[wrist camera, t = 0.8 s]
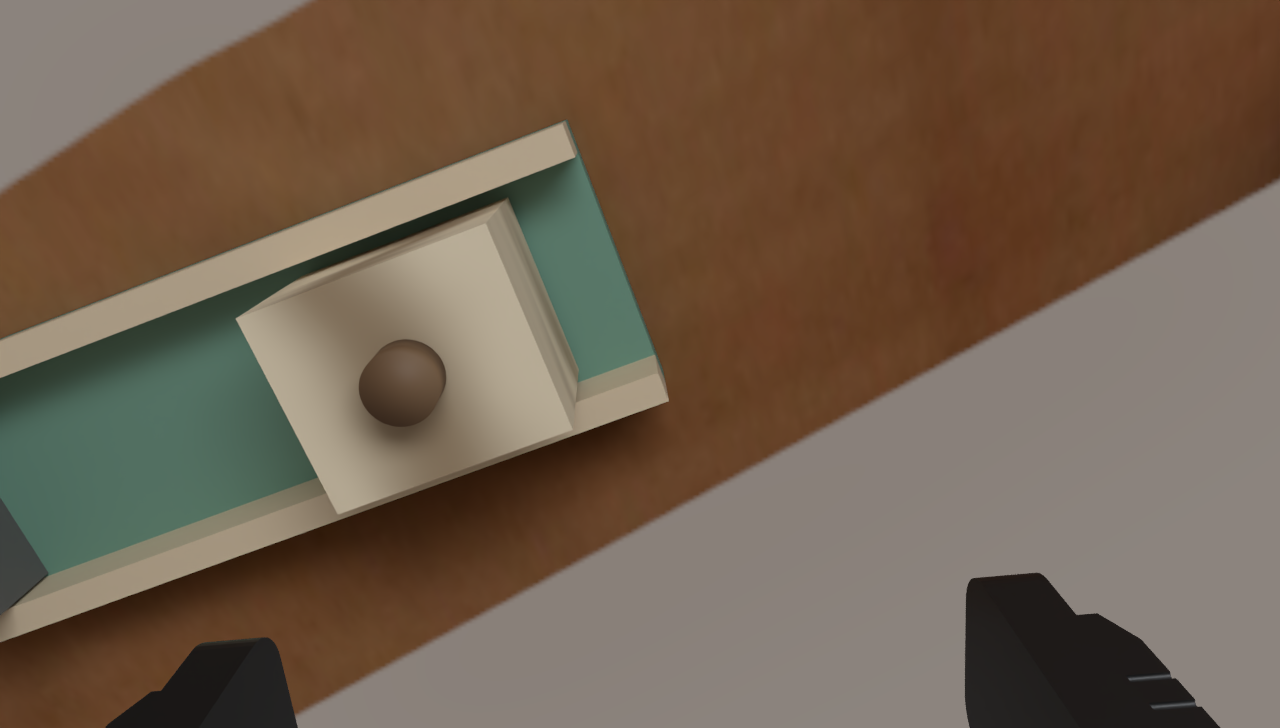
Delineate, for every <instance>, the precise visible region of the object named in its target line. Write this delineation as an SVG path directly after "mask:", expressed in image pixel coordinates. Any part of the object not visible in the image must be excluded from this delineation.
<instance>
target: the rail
mask: <svg viewBox="0 0 1280 728" xmlns="http://www.w3.org/2000/svg"><path fill="white" fill-rule="evenodd" d="M507 197H508V198H509V201H510V203H511V206H512V208H513V211H514V213H515V215H516V218H517V220H518V223H519V225H520V228H521V230H522V233H523V235H524V237H525V240H526V242H527V245H528V247H529V250H530V252H531V254H532V257H533V259H534V262H535V264H536V267H537V269H538V271H539V274H540V276H541V279H542V281H543V284H544V286H545V288H546V291H547V293H548V296H549V298H550V301H551V303H552V306H553V308H554V310H555V313H556V315H557V318H558V320H559V323H560V325H561V327H562V330H563V332H564V335H565V337H566V340H567V342H568V344H569V347H570V349H571V352H572V354H573V357H574V359H575V361H576V364H577V366H578V369H579V373H578V383H577V393H576V403H575V413H574V423H573V430H571V431H568V432H565V433H563V434H560V435H557V436H554V437H551V438H549V439H546V440H543V441H540V442H538V443H535V444H532V445H529V446H527V447H524V448H521V449H518V450H515V451H513V452H510V453H507V454H504V455H502V456H499V457H496V458H493V459H491V460H488V461H485V462H482V463H480V464H477V465H474V466H471V467H468V468H466V469H463V470H460V471H457V472H455V473H452V474H449V475H446V476H444V477H441V478H438V479H435V480H432V481H430V482H427V483H424V484H421V485H419V486H416V487H413V488H410V489H408V490H405V491H402V492H399V493H396V494H394V495H391V496H388V497H385V498H383V499H380V500H377V501H374V502H372V503H369V504H366V505H363V506H360V507H358V508H355V509H352V510H349V511H347V512H344V513H341V514H337V512H336V510H335V508H334V507H333V505H332V503H331V501H330V499H329V497H328V495H327V493H326V491H325V489H324V487H323V485H322V483H321V482H320V480H319V478H318V476H317V474H316V472H315V470H314V468H313V466H312V464H311V462H310V460H309V459H308V457H307V455H306V453H305V451H304V449H303V447H302V445H301V443H300V441H299V439H298V437H297V435H296V434H295V432H294V430H293V428H292V426H291V424H290V422H289V420H288V418H287V416H286V414H285V412H284V411H283V409H282V407H281V405H280V403H279V401H278V399H277V397H276V395H275V393H274V391H273V389H272V387H271V386H270V384H269V382H268V380H267V378H266V376H265V374H264V372H263V370H262V368H261V366H260V364H259V363H258V361H257V359H256V357H255V355H254V353H253V351H252V349H251V347H250V345H249V343H248V341H247V339H246V338H245V336H244V334H243V332H242V330H241V328H240V326H239V324H238V322H237V320H236V318H237V317H239V316H240V315H242V314H244V313H245V312H247V311H248V310H250V309H251V308H253V307H254V306H256V305H258V304H259V303H261V302H262V301H264V300H265V299H267V298H269V297H270V296H272V295H273V294H275V293H276V292H278V291H279V290H281V289H283V288H284V287H286V286H287V285H289V284H290V283H292V282H294V281H295V280H297V279H298V278H300V277H301V276H303V275H306V274H309V273H311V272H314V271H316V270H319V269H322V268H324V267H327V266H329V265H332V264H335V263H337V262H340V261H342V260H345V259H348V258H350V257H353V256H356V255H358V254H361V253H363V252H366V251H369V250H371V249H374V248H376V247H379V246H382V245H384V244H387V243H390V242H392V241H395V240H397V239H400V238H403V237H405V236H408V235H410V234H413V233H416V232H418V231H421V230H424V229H426V228H429V227H431V226H434V225H437V224H439V223H442V222H444V221H447V220H450V219H452V218H455V217H457V216H460V215H463V214H465V213H468V212H471V211H473V210H476V209H478V208H481V207H484V206H486V205H489V204H491V203H494V202H497V201H499V200H502V199H505V198H507ZM668 401H669V399H668V394H667V388H666V383H665V378H664V373H663V369H662V366H661V364H660V361H659V359H658V356H657V353H656V351H655V348H654V346H653V343H652V340H651V338H650V335H649V332H648V330H647V327H646V325H645V322H644V319H643V317H642V314H641V312H640V309H639V306H638V304H637V301H636V298H635V296H634V293H633V291H632V288H631V285H630V283H629V280H628V277H627V275H626V272H625V270H624V267H623V264H622V262H621V259H620V257H619V254H618V251H617V249H616V246H615V243H614V241H613V238H612V236H611V233H610V230H609V228H608V225H607V222H606V220H605V217H604V215H603V212H602V209H601V207H600V204H599V202H598V199H597V196H596V194H595V191H594V188H593V186H592V183H591V181H590V178H589V175H588V173H587V170H586V168H585V165H584V162H583V160H582V157H581V154H580V152H579V149H578V147H577V144H576V141H575V139H574V136H573V133H572V131H571V128H570V126H569V123H568V120H564V121H562V122H559V123H557V124H554V125H551V126H549V127H546V128H544V129H541V130H538V131H536V132H533V133H531V134H528V135H526V136H523V137H520V138H518V139H515V140H513V141H510V142H507V143H505V144H502V145H500V146H497V147H495V148H492V149H489V150H487V151H484V152H482V153H479V154H476V155H474V156H471V157H469V158H466V159H464V160H461V161H458V162H456V163H453V164H451V165H448V166H445V167H443V168H440V169H438V170H435V171H433V172H430V173H427V174H425V175H422V176H420V177H417V178H414V179H412V180H409V181H407V182H404V183H402V184H399V185H396V186H394V187H391V188H389V189H386V190H383V191H381V192H378V193H376V194H373V195H371V196H368V197H365V198H363V199H360V200H358V201H355V202H353V203H350V204H347V205H345V206H342V207H340V208H337V209H334V210H332V211H329V212H327V213H324V214H322V215H319V216H316V217H314V218H311V219H309V220H306V221H303V222H301V223H298V224H296V225H293V226H291V227H288V228H285V229H283V230H280V231H278V232H275V233H272V234H270V235H267V236H265V237H262V238H260V239H257V240H254V241H252V242H249V243H247V244H244V245H241V246H239V247H236V248H234V249H231V250H229V251H226V252H223V253H221V254H218V255H216V256H213V257H210V258H208V259H205V260H203V261H200V262H198V263H195V264H192V265H190V266H187V267H185V268H182V269H179V270H177V271H174V272H172V273H169V274H167V275H164V276H161V277H159V278H156V279H154V280H151V281H148V282H146V283H143V284H141V285H138V286H136V287H133V288H130V289H128V290H125V291H123V292H120V293H117V294H115V295H112V296H110V297H107V298H105V299H102V300H99V301H97V302H94V303H92V304H89V305H86V306H84V307H81V308H79V309H76V310H74V311H71V312H68V313H66V314H63V315H61V316H58V317H55V318H53V319H50V320H48V321H45V322H43V323H40V324H37V325H35V326H32V327H30V328H27V329H24V330H22V331H19V332H17V333H14V334H12V335H9V336H6V337H4V338H1V339H0V642H2V641H5V640H8V639H11V638H13V637H16V636H19V635H22V634H25V633H27V632H30V631H33V630H36V629H38V628H41V627H44V626H47V625H50V624H52V623H55V622H58V621H61V620H63V619H66V618H69V617H72V616H74V615H77V614H80V613H83V612H86V611H88V610H91V609H94V608H97V607H99V606H102V605H105V604H108V603H110V602H113V601H116V600H119V599H122V598H124V597H127V596H130V595H133V594H135V593H138V592H141V591H144V590H147V589H149V588H152V587H155V586H158V585H160V584H163V583H166V582H169V581H171V580H174V579H177V578H180V577H183V576H185V575H188V574H191V573H194V572H196V571H199V570H202V569H205V568H208V567H210V566H213V565H216V564H219V563H221V562H224V561H227V560H230V559H232V558H235V557H238V556H241V555H244V554H246V553H249V552H252V551H255V550H257V549H260V548H263V547H266V546H268V545H271V544H274V543H277V542H280V541H282V540H285V539H288V538H291V537H293V536H296V535H299V534H302V533H305V532H307V531H310V530H313V529H316V528H318V527H321V526H324V525H327V524H329V523H332V522H335V521H338V520H341V519H343V518H346V517H349V516H352V515H354V514H357V513H360V512H363V511H366V510H368V509H371V508H374V507H377V506H379V505H382V504H385V503H388V502H390V501H393V500H396V499H399V498H402V497H404V496H407V495H410V494H413V493H415V492H418V491H421V490H424V489H426V488H429V487H432V486H435V485H438V484H440V483H443V482H446V481H449V480H451V479H454V478H457V477H460V476H463V475H465V474H468V473H471V472H474V471H476V470H479V469H482V468H485V467H487V466H490V465H493V464H496V463H499V462H501V461H504V460H507V459H510V458H512V457H515V456H518V455H521V454H524V453H526V452H529V451H532V450H535V449H537V448H540V447H543V446H546V445H548V444H551V443H554V442H557V441H560V440H562V439H565V438H568V437H571V436H573V435H576V434H579V433H582V432H584V431H587V430H590V429H593V428H596V427H598V426H601V425H604V424H607V423H609V422H612V421H615V420H618V419H621V418H623V417H626V416H629V415H632V414H634V413H637V412H640V411H643V410H645V409H648V408H651V407H654V406H657V405H659V404H662V403H665V402H668Z"/></svg>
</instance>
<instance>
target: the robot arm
mask: <svg viewBox="0 0 1280 728" xmlns="http://www.w3.org/2000/svg"><path fill="white" fill-rule="evenodd" d="M965 644H966V645H965V646H966V647H965V702H966V711H967V717H968V722H969V726H970V728H1220V727H1219V726H1218V725H1217V724H1216V722H1215V721H1214V720H1213V719H1212V718H1211V717H1210V716H1209V715H1208V714H1207V713H1206V711H1205V710H1204V709H1203V708H1202V707H1197V706H1196V704H1195V699H1194V698H1193V697H1192V696H1191V695H1190V694H1189V692H1188V691H1187V690H1186V689H1185V688H1184V687H1183V686H1182V685H1181V683H1180V682H1179V681H1178V680H1177V679H1172V678H1171V675H1170V671H1169V670H1168V669H1167V668H1166V667H1165V666H1164V664H1163V663H1162V662H1161V661H1160V660H1159V659H1158V658H1157V657H1156V656H1155V654H1154V653H1153V652H1152V651H1151V650H1150V649H1149V648H1148V647H1147V646H1146V644H1145V643H1144V642H1143V641H1142V640H1141V639H1140V638H1138V637H1136V636H1135V635H1133V634H1131V633H1129V632H1128V631H1126V630H1124V629H1123V628H1121V627H1119V626H1118V625H1116V624H1114V623H1113V622H1111V621H1109V620H1107V619H1106V618H1104V617H1102V616H1101V615H1099V614H1085V615H1076V614H1075V613H1074V612H1073V610H1072V609H1071V608H1070V607H1069V605H1068V604H1067V603H1066V602H1065V601H1064V599H1063V598H1062V597H1061V596H1060V594H1059V593H1058V592H1057V591H1056V590H1055V588H1054V587H1053V586H1052V585H1051V583H1050V582H1049V581H1048V580H1047V579H1046V578H1045V577H1044V576H1043V575H1042V574H1040V573H1029V574H1017V575H1005V576H995V577H982V578H973V579H971V580H970V582H969V584H968V587H967V593H966V641H965ZM106 728H298V727H297V723H296V719H295V715H294V711H293V707H292V703H291V698H290V694H289V690H288V686H287V682H286V678H285V674H284V670H283V666H282V662H281V658H280V654H279V651H278V649H277V647H276V645H275V643H274V642H273V641H272V640H271V639H269V638H252V639H241V640H229V641H217V642H206V643H201V644H199V645H198V646H196V647H195V648H194V649H193V650H192V651H191V653H190V654H189V655H188V657H187V658H186V659H185V661H184V662H183V663H182V664H181V666H180V667H179V668H178V670H177V671H176V672H175V674H174V675H173V676H172V677H171V679H170V680H169V681H168V683H167V684H166V685H165V687H164V688H163V689H162V690H161V691H154V692H150V693H149V694H148V695H146V696H145V697H144V698H142V699H141V700H140V701H138V702H137V703H136V704H134V705H133V706H132V707H130V708H129V709H128V710H126V711H125V712H124V713H122V714H121V715H120V716H118V717H117V718H116V719H114V720H113V721H112V722H110V723H109V724H108V725H107V726H106Z"/></svg>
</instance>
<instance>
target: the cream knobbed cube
mask: <svg viewBox="0 0 1280 728" xmlns="http://www.w3.org/2000/svg"><path fill="white" fill-rule="evenodd" d="M236 320H237V322H238V324H239V326H240V328H241V330H242V332H243V334H244V336H245V338H246V339H247V341H248V343H249V345H250V347H251V349H252V351H253V353H254V355H255V357H256V359H257V361H258V363H259V364H260V366H261V368H262V370H263V372H264V374H265V376H266V378H267V380H268V382H269V384H270V386H271V387H272V389H273V391H274V393H275V395H276V397H277V399H278V401H279V403H280V405H281V407H282V409H283V411H284V412H285V414H286V416H287V418H288V420H289V422H290V424H291V426H292V428H293V430H294V432H295V434H296V435H297V437H298V439H299V441H300V443H301V445H302V447H303V449H304V451H305V453H306V455H307V457H308V459H309V460H310V462H311V464H312V466H313V468H314V470H315V472H316V474H317V476H318V478H319V480H320V482H321V483H322V485H323V487H324V489H325V491H326V493H327V495H328V497H329V499H330V501H331V503H332V505H333V507H334V508H335V510H336V512H337V514H341V513H344V512H347V511H349V510H352V509H355V508H358V507H360V506H363V505H366V504H369V503H372V502H374V501H377V500H380V499H383V498H385V497H388V496H391V495H394V494H396V493H399V492H402V491H405V490H408V489H410V488H413V487H416V486H419V485H421V484H424V483H427V482H430V481H432V480H435V479H438V478H441V477H444V476H446V475H449V474H452V473H455V472H457V471H460V470H463V469H466V468H468V467H471V466H474V465H477V464H480V463H482V462H485V461H488V460H491V459H493V458H496V457H499V456H502V455H504V454H507V453H510V452H513V451H515V450H518V449H521V448H524V447H527V446H529V445H532V444H535V443H538V442H540V441H543V440H546V439H549V438H551V437H554V436H557V435H560V434H563V433H565V432H568V431H571V430H573V423H574V413H575V403H576V393H577V383H578V373H579V369H578V366H577V364H576V361H575V359H574V357H573V354H572V352H571V349H570V347H569V344H568V342H567V340H566V337H565V335H564V332H563V330H562V327H561V325H560V323H559V320H558V318H557V315H556V313H555V310H554V308H553V306H552V303H551V301H550V298H549V296H548V293H547V291H546V288H545V286H544V284H543V281H542V279H541V276H540V274H539V271H538V269H537V267H536V264H535V262H534V259H533V257H532V254H531V252H530V250H529V247H528V245H527V242H526V240H525V237H524V235H523V233H522V230H521V228H520V225H519V223H518V220H517V218H516V215H515V213H514V211H513V208H512V206H511V203H510V201H509V198H508V197H507V198H505V199H502V200H499V201H497V202H494V203H491V204H489V205H486V206H484V207H481V208H478V209H476V210H473V211H471V212H468V213H465V214H463V215H460V216H457V217H455V218H452V219H450V220H447V221H444V222H442V223H439V224H437V225H434V226H431V227H429V228H426V229H424V230H421V231H418V232H416V233H413V234H410V235H408V236H405V237H403V238H400V239H397V240H395V241H392V242H390V243H387V244H384V245H382V246H379V247H376V248H374V249H371V250H369V251H366V252H363V253H361V254H358V255H356V256H353V257H350V258H348V259H345V260H342V261H340V262H337V263H335V264H332V265H329V266H327V267H324V268H322V269H319V270H316V271H314V272H311V273H309V274H306V275H303V276H301V277H300V278H298V279H297V280H295V281H294V282H292V283H290V284H289V285H287V286H286V287H284V288H283V289H281V290H279V291H278V292H276V293H275V294H273V295H272V296H270V297H269V298H267V299H265V300H264V301H262V302H261V303H259V304H258V305H256V306H254V307H253V308H251V309H250V310H248V311H247V312H245V313H244V314H242V315H240V316H239V317H237V318H236Z"/></svg>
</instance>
